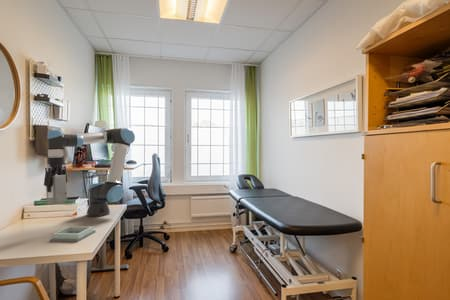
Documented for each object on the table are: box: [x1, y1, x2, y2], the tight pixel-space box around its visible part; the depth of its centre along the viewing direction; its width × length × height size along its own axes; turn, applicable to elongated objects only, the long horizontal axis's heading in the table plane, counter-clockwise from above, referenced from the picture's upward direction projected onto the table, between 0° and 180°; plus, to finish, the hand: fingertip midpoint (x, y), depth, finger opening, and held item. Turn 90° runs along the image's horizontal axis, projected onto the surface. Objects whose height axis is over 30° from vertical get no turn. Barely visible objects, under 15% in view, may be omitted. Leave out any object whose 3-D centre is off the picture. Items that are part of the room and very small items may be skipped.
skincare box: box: [45, 174, 68, 205], centre depth 149 cm, size 8×7×16 cm
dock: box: [49, 225, 96, 243], centre depth 140 cm, size 16×15×4 cm
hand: (56, 196), depth 149 cm, fingers closed on skincare box, 8 cm apart
